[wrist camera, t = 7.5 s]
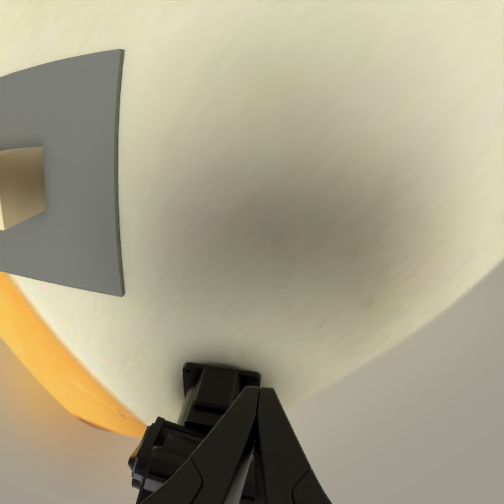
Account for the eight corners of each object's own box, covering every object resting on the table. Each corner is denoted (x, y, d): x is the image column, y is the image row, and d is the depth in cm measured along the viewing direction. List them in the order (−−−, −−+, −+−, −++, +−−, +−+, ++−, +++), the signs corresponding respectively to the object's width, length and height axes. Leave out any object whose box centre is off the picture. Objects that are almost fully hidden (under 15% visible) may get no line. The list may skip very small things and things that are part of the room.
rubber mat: (124, 293, 24) (122, 297, 23) (-16, 264, 25) (-19, 266, 24) (124, 50, 17) (120, 49, 17) (-29, 89, 18) (-32, 89, 18)
